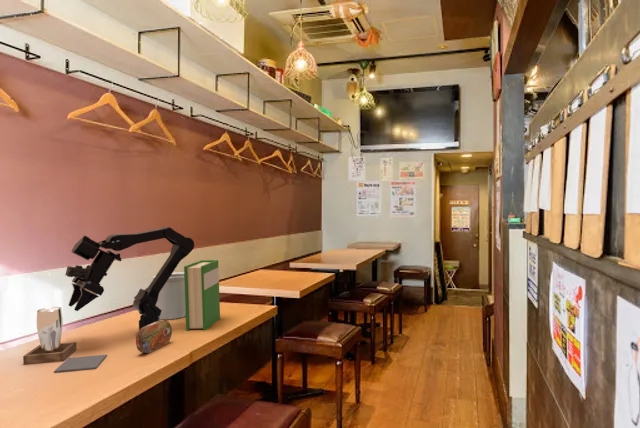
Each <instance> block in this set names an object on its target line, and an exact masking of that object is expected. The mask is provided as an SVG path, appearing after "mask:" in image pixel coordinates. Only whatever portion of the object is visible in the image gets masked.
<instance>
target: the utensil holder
mask: <svg viewBox="0 0 640 428" xmlns="http://www.w3.org/2000/svg"><path fill="white" fill-rule="evenodd" d="M155 276H156V275H154V276H152V280H153V279H154V278H155ZM155 306H157V307H158V308H159V309H161V310H162V311H161V314H160V316H159V318H160V320H167V321H168V320H174V319H175V320H177V319H182V318H186V309H185V280H184V271H183V272H182V271H181V272H179V271H178V272H173V273H172V274H171V276H170V277H169V279H168V280H167V282H166V283H165V285H164V286H163V288H162V289H161V291H160V293H159V296H158V301H157V303H156V305H155Z"/></svg>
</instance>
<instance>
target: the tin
mask: <svg viewBox="0 0 640 428" xmlns="http://www.w3.org/2000/svg"><path fill="white" fill-rule="evenodd" d="M172 332H173V330H172V325H171V323H170V321H168V319H167V320H164V319H160V321H156V322H154V323H152V324H149V325H147V326H145V327H142V328H141V329H140V330H139V329H138V331H137V333H136V337H135V344H136V348H137V351H138V352H139V353H142V354H143V353H144V354H151V353H153V352H155V351H157V350H159V349H162V347H165V346H166V345H168V343H170V340H171V338H172Z"/></svg>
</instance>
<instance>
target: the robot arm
mask: <svg viewBox="0 0 640 428" xmlns="http://www.w3.org/2000/svg"><path fill="white" fill-rule="evenodd" d="M161 239H162V240H163V239H165V240H166V241H168V242H169V243H170V244H172V246H171V249H170V254H169V255H168V257H167V258H166V259H165V261H164V263H163V265H162V266H161V268H160V269H159V271H158V272H157V273H156V275H154V276H155V278H154V279H153V278H152V281H151V282H150V284H149V285H148V286H147V287H146V288H145V289H143V288H139V290H138V292H137V294H136V295H135V296H134V297H133V299H134V300H133V301H132V304H133V307H134V310H136V311H138V313H139V315H140V316H139V320H138V331H139V330H140V329H141V328H142V327H145V326H147V325H149V324H152V323H154V322H156V321H161V319H160V318H159V316H160V314H161V311H162V310H161V309H159V308H158V307H157V306H155V305H156V303H157V301H158V296H159V293H160V291H161V289H162V288H163V286H164V285H165V283H166V282H167V280H168V279H169V277H170V276H171V274H172V273H174V272H175V270H176V269H177V267H178V265H179V264H180V263H181V261H182V260H183V259H184V258H186V257H187V256H189V254H190V253H191V252H192V251H193V250H194V249H195V242H194V240H193V239H192V238H191V237H186V236H184V235H183V234H181V233H179V232H177V231H176V230H174V229H173V228H172V227H167V226H164V227H161V228H158V229H157V228H156V229H152V230H147V231H141V232H140V231H139V232H136V233H114V234H110V235H107V237H106V238H105V239H104V240H100V241H98V242H97V241H95V240H93V239H91V238H90V237H89V236H87V235H83V236H82V237H81V238H80V239H79V240H78V241H77V242H76V243H75V244H74V245H73V247H72V250H71V253H72V254H74V255H76V256H77V257H80V258H82V259H84V260H86V261H89V260H90V259H91V260H93V261H92V262H91V263H90V264H88V265H86V267H85V268H84V267H83V266H82V265H77V264H76V265H75V266H70V265H67V266H66V271H65V276H66V277H69V278H73V279H71V282H72V283H71V285H72V288H73V289H72V294H71V297H70V300H69V303H68V306H69V307H71V308H72V307H73V306H74V305H75V307H74V311H75V312H78V311H80V310H81V309H82V308H84V307H85V306H87V305H88V304H90V303H92V302H93V301H94V300H95V299H97V298H99V296H102V295H103V293H104V292H105V289H104V286H102V285H101V284H100V283H102V282H101V281H102V280H103V279H104V277H107V275H108V273H107V272H108V271H109V270H110V268H111V266H112V265H113V263H114V262H115V260H116V261H118V262H122V258H121V253H118V252H121V251H123V250H126V249H128V248H131V247H132V246H135V245H137V244H141V243H147V242H151V241H158V240H161ZM102 249H105V250H107V251H104V250H102ZM113 251H115V252H117V253H115V252H113Z"/></svg>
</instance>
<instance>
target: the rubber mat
mask: <svg viewBox="0 0 640 428" xmlns="http://www.w3.org/2000/svg"><path fill="white" fill-rule="evenodd" d="M107 357H108V354H98V355H97V354H96V355H89V356H88V355H87V356H74V357H68V358H67V359H65V360H64V361H62V362H63V363H61V364H60V365H59V366H58V367H57V368H56V369H55V370H54V371H53V374H56V373H68V372H78V371H88V370H89V371H90V370H97V368H98V367H99V366H100V365H101V364H102V362H103V361H105V359H106V358H107Z"/></svg>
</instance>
